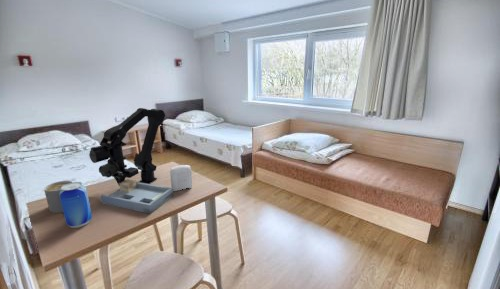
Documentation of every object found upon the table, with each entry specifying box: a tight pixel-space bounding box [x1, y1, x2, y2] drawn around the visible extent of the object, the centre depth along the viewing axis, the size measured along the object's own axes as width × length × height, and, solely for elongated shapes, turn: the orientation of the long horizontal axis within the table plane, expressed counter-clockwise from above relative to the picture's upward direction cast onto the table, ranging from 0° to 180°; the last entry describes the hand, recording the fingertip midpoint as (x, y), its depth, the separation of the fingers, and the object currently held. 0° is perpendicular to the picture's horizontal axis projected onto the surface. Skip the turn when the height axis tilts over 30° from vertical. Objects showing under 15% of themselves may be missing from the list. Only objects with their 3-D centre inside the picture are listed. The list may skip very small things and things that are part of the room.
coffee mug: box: [43, 180, 73, 214], centre depth 108 cm, size 13×10×10 cm
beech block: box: [118, 178, 137, 193], centre depth 121 cm, size 5×5×4 cm
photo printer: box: [169, 164, 193, 192], centre depth 125 cm, size 10×4×12 cm, turn 116°
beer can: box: [59, 181, 93, 229], centre depth 97 cm, size 8×8×16 cm
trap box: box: [100, 181, 174, 214], centre depth 116 cm, size 16×26×4 cm, turn 72°
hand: (121, 186), depth 122 cm, fingers closed
